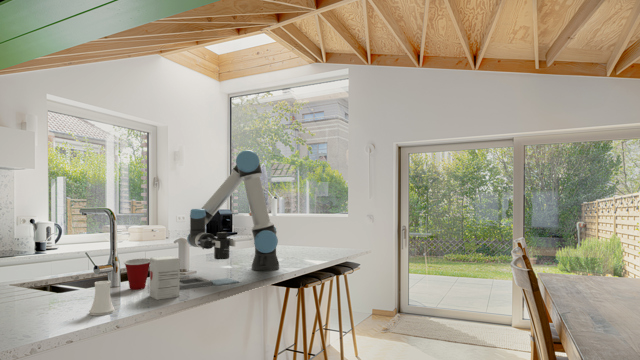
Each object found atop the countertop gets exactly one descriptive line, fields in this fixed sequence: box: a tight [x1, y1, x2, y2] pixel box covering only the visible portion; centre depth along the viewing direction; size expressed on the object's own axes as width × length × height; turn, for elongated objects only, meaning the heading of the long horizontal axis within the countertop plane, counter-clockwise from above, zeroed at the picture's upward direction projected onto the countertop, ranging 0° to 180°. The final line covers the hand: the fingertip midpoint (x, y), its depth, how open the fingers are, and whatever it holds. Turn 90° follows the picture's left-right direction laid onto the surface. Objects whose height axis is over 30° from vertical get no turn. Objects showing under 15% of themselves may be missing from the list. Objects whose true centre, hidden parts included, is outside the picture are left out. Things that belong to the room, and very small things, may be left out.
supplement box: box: [148, 255, 181, 301], centre depth 160 cm, size 9×9×15 cm
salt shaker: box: [88, 280, 116, 316], centre depth 136 cm, size 8×8×10 cm
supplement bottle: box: [213, 231, 231, 260], centre depth 188 cm, size 7×7×12 cm
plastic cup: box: [123, 258, 150, 291], centre depth 174 cm, size 11×11×12 cm
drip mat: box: [208, 277, 240, 287], centre depth 187 cm, size 11×11×1 cm
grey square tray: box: [179, 276, 213, 290], centre depth 182 cm, size 14×14×2 cm
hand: (227, 244), depth 184 cm, fingers closed on supplement bottle, 7 cm apart
